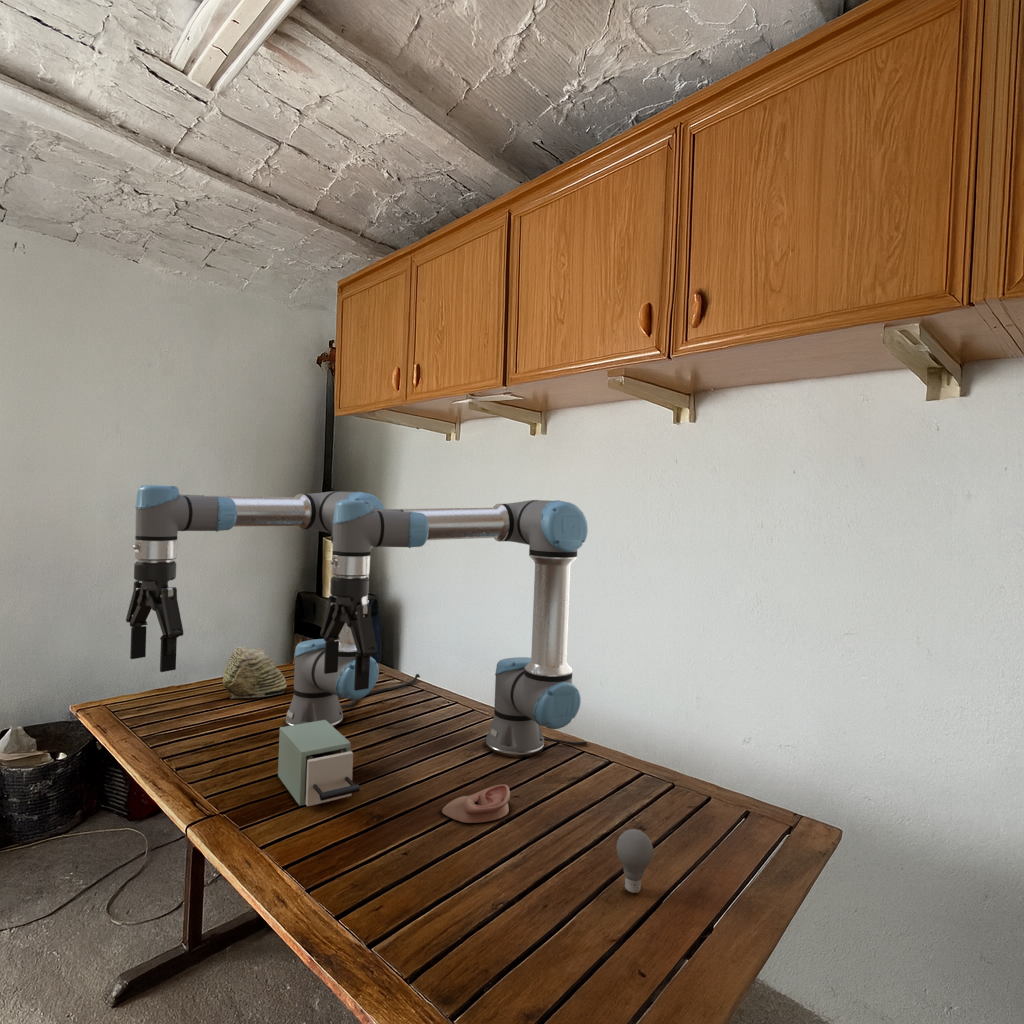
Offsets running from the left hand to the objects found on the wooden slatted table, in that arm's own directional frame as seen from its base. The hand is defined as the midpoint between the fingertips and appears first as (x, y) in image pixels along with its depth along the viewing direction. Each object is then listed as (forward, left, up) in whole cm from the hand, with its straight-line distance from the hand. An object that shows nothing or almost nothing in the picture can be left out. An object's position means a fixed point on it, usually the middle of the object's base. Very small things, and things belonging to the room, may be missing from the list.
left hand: (152, 664), depth 130 cm
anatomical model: (-43, +52, -28) cm, 73 cm away
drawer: (-25, +25, -27) cm, 44 cm away
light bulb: (-40, +90, -28) cm, 102 cm away
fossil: (-49, -47, -28) cm, 74 cm away
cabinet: (-26, +19, -28) cm, 43 cm away
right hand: (-24, +32, -1) cm, 40 cm away
